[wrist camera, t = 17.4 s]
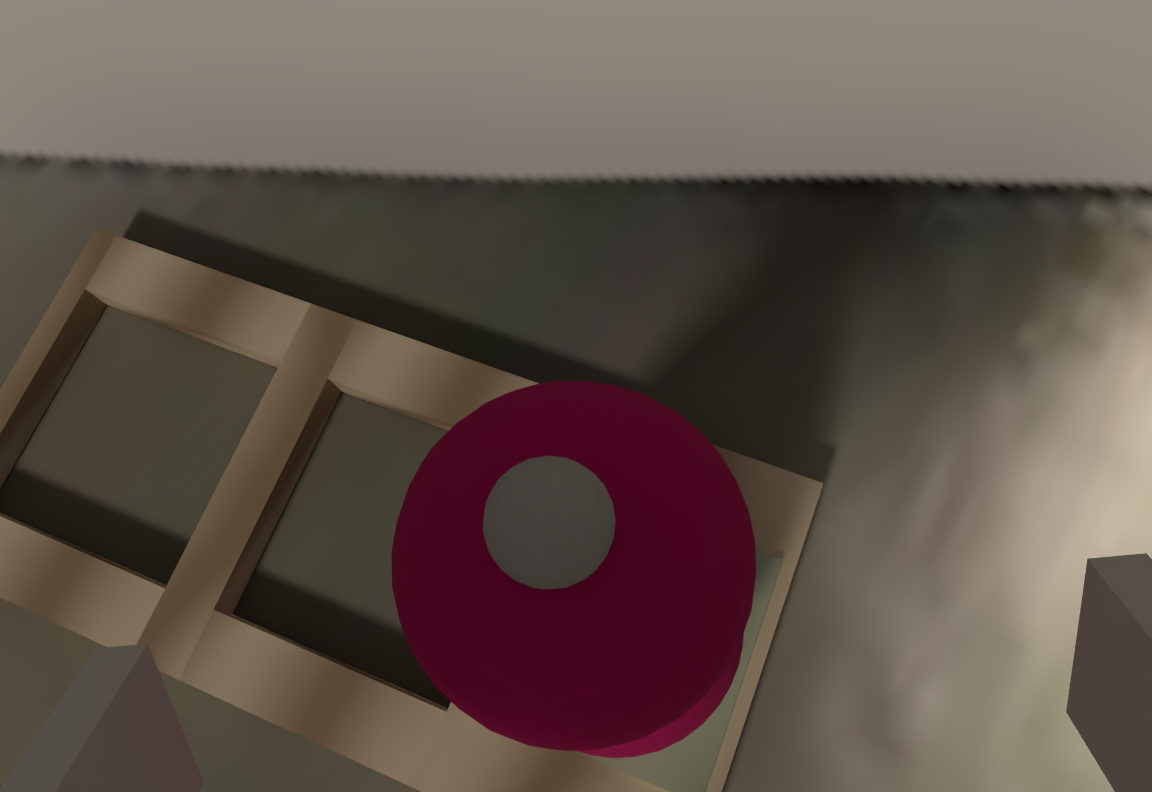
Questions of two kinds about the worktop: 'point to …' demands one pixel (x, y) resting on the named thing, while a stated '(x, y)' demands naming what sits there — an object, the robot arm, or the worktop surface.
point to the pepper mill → (576, 569)
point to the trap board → (256, 501)
